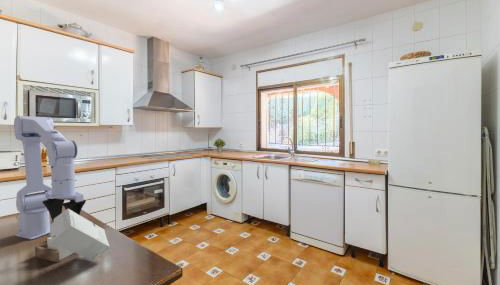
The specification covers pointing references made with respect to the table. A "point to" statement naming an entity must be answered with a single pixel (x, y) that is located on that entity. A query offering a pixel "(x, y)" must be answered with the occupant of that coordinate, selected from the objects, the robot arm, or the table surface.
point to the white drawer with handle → (58, 249)
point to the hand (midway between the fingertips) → (65, 222)
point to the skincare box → (78, 235)
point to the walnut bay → (46, 253)
